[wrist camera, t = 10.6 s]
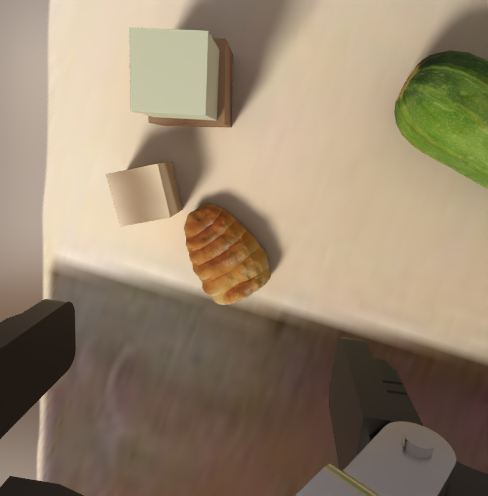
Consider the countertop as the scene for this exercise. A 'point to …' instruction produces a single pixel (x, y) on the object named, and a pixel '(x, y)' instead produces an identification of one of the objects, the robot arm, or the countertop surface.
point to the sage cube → (174, 73)
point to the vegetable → (448, 112)
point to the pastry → (225, 255)
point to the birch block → (144, 193)
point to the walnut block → (223, 95)
